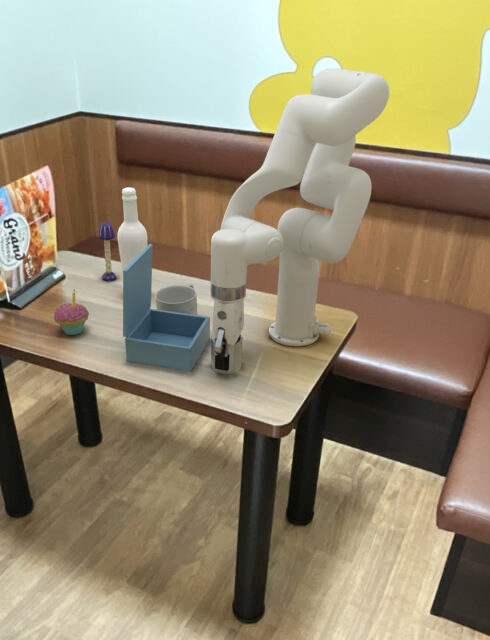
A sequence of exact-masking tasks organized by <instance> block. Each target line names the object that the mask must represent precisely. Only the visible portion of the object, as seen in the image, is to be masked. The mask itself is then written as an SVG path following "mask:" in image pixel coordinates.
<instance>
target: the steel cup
mask: <svg viewBox="0 0 490 640" xmlns="http://www.w3.org/2000/svg"><path fill="white" fill-rule="evenodd" d="M223 341H225V342H227V341H226V339H223ZM243 341H244V340H243V336H242V333H241V334H240V336H239V338H238V340H237V341H236V343H235V344H234V345H229V351H228V354H229V355H230V359H229V370H228V371H224V370H218V369H215V344H216V343H215V342H214V341H213V334H212V335H211V336H210V366H211V369H212V370H213V371H214V372H216V373H217V374H221V375H232V374H235V373H237V372H239V371H240V370H241V369H242V363H243ZM222 348H224V349H225V348H226V345H224V344H222Z"/></svg>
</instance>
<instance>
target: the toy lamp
mask: <svg viewBox="0 0 490 640" xmlns="http://www.w3.org/2000/svg"><path fill="white" fill-rule="evenodd" d="M115 237H116V234H115V231H114V228H113V225H112V223H111V222H108V221H104V222H101V223H100V226H99V231H98V239H100V240H101V241H103V242H104V243H103V247H104V250H103V251H104V258H105V259H104V263H105V264H104V265H105V272H103V274H102V276H101V279H102V280H103V281H105V282H112V281H115V280H116V279H118V278H117V274H116V273H115V272H113V269H112V258H111V257H112V253H111V241H112V240H114V239H115Z"/></svg>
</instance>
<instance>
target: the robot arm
mask: <svg viewBox="0 0 490 640" xmlns="http://www.w3.org/2000/svg"><path fill="white" fill-rule="evenodd" d="M389 98H390V85H389V82H388V81H387V79H386V78H385V77H384V76H383V75H381V74H379V73H375V72H367V71H360V70H352V69H345V68H337V67H336V68H333V67H331V68H325V69H322V70H320V71H318V72H317V73H316V74H315V75H314V77H313V79H312V82H311V88H310V94H309V93H308V94H307V93H306V94H305V93H302V94H297V95H294V96H293V97H291V98H290V99H289V100H288V102H287V103H286V104H285V107H284V109H283V112H282V113H281V117H280V120H279V122H278V124H277V128H276V130H275V132H274V135H273V137H272V140H271V143H270V146H269V148H268V151H267V153H266V156H265V158H264V161H263V163H262V165H261V167H260V168H259V169H258V170H256V171H255V172H254V173H252V174H251V175H250V176H249V177H248V178H247V179H245V181H244V182H243V183H242V184H241V185H240V186H239V187H238V188H237V189H236V190H235V192H234V193H233V194H232V196H231V197H230V200H229V202H228V204H227V206H226V210H225V212H224V214H223V218H222V221H221V224H220V229H218V230H216V231H215V232H214V233H213V235H212V236H211V240H210V298H211V299H212V300H213V314H212V335H213V341H214V342H215V343H216V344H215V369H218V370H224V371H228V370H229V359H230V355H229V354H228V351H229V345H234V344H235V343H236V341H237V340H238V338H239V336H240V334H241V335H242V331H243V329H244V327H245V301H244V300H245V299H246V297H247V278H248V277H247V276H248V275H247V273H248V267H249V265H255V264H264V263H269V262H271V261H273V260H274V259H276V258H277V257H278V256H279V264H278V265H279V267H278V277H277V278H278V279H277V280H278V281H277V294H276V307H275V308H276V309H275V321H274V322H272V323H270V325H269V327H268V334H269V337H270V338H271V339H272V341H274V342H275V343H278V344H280V345H284V346H288V347H305V346H309V345H312V344H313V343H315V342H316V341H318V339H319V337H320V335H324V336H332V329H333V327H329V323H326V322H319V321H318V320H317V319H318V316H317V315H316V307H317V299H318V290H319V282H320V271H321V269H320V268H321V267H320V262H319V261H322V262H324V263H327V264H337V263H340V262H341V261H343V260H344V259H345V258H346V257H347V255H348V253H349V251H350V250H351V247H352V246H353V243H354V240H355V238H356V235H357V233H358V230H359V228H360V226H361V223H362V221H363V218H364V216H365V213H366V211H367V208H368V206H369V203H370V201H371V194H372V180H371V177H370V175H369V174H368V173H367V172H366V171H365V170H364V169H361V168H358V167H354V166H350V163H351V159H352V157H353V153H354V151H355V147H356V144H357V143H356V140H357V139H356V137H357V136H356V135H358V133H360V132H361V131H363V130H364V129H365V128H367V127H368V126H369V125H370V124H372V123H373V122H374V121H375V120H377V119H378V118H379V117H380V116H381V114H382V113H383V111H384V110H385V108H386V107H387V105H388V102H389ZM299 184H300V186H299V193H300V196H301V198H302V199H303V200H304V201H305V202H307V203H310V204H312V205H314V206H318V207H321V208H324V209H327V210H331V211H332V213H331V216H330V215H327V214H324V213H321V212H320V211H319V212H318V211H315V210H312V209H309V208H304V207H292V208H290V209H288V210H286V211H285V212H283V214H282V215H281V216H280V217H279V220H278V223H277V227H276V228H277V229H276V228H275V227H273V226H272V225H268V224H265V223H263V222H261V221H258V220H255V219H252V218H250V217H251V215H252V213H253V211H254V209H255V207H256V206H257V205H258V204H259V202H260V201H261V200H262V199H263V198H265V197H266V196H268V195H270V194H272V193H274V192H277V191H279V190H283V189H287V188H291V187H294V186H297V185H299ZM223 339H226V341H227V342H225V341H223ZM222 344H224V345H226V348H225V349H224V348H222Z"/></svg>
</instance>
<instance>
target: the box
mask: <svg viewBox="0 0 490 640" xmlns="http://www.w3.org/2000/svg"><path fill="white" fill-rule="evenodd" d="M209 341H211V317H210V316H207V315H201V314H200V315H199V314H196V315H193V314H185V313H178V312H171V311H164V310H157V308H156V309H155V308H150V309H149V310H148V311H147V312H146V313H145V315H144V316H143V317H142V318H141V320H140V321H139V322H138V323H137V325H136V326H135V327H134V328H133V329H132V331H131V332H130V333H129V334H128V336H127V337H124V345H125V355H126V362H128V363H134V364H139V365H145V366H146V365H147V366H152V367H159V368H165V369H171V370H176V371H183V372H190V373H191V372H192V371H193V369H194V367H195V365H196V363H197V362H198V360H199V359H200V357H201V355H202V353H203V352H204V350H205V348H206V347H207V345H208V343H209Z"/></svg>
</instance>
